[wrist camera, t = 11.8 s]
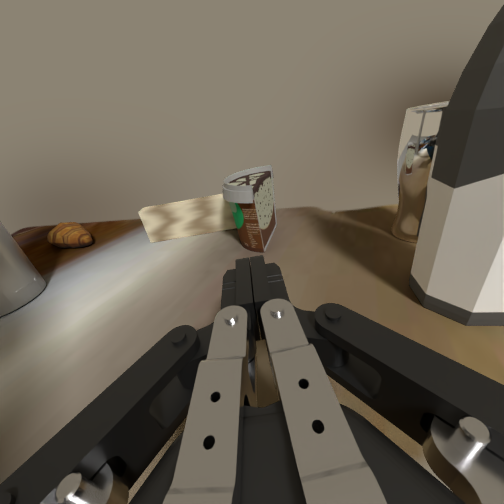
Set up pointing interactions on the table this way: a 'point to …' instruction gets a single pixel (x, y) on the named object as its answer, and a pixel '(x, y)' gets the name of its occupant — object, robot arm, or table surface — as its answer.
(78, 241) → the croissant
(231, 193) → the food container
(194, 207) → the maple board
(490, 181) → the wine bottle
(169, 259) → the table surface
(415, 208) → the beer glass
